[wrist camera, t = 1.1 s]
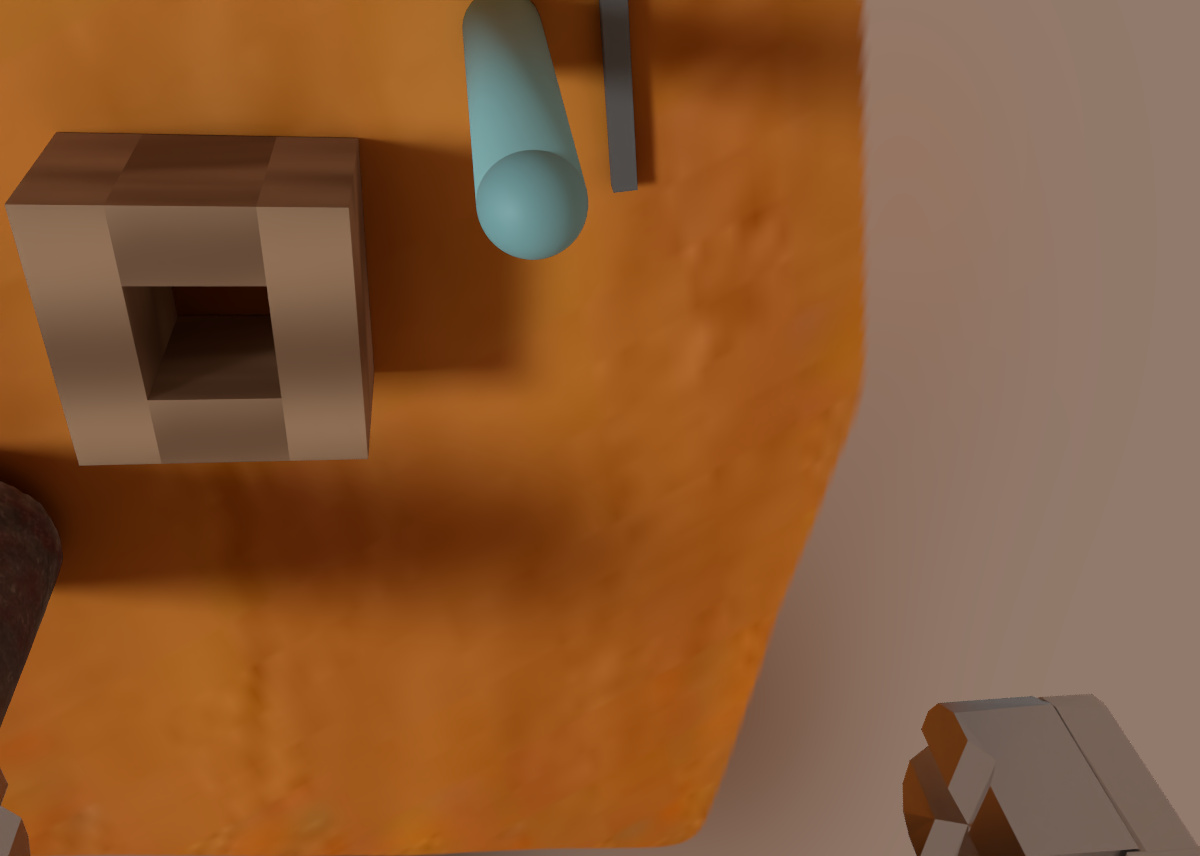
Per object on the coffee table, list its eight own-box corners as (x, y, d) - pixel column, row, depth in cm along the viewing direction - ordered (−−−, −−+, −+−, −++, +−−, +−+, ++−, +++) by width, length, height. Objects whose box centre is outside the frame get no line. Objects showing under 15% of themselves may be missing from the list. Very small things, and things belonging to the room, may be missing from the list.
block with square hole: (56, 132, 33) (4, 204, 29) (358, 138, 34) (348, 207, 30) (115, 376, 38) (79, 465, 34) (374, 373, 39) (367, 458, 35)
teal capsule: (462, -14, 31) (478, 173, 21) (543, -10, 32) (598, 174, 21) (462, 68, 33) (477, 279, 22) (540, 70, 33) (590, 280, 23)
